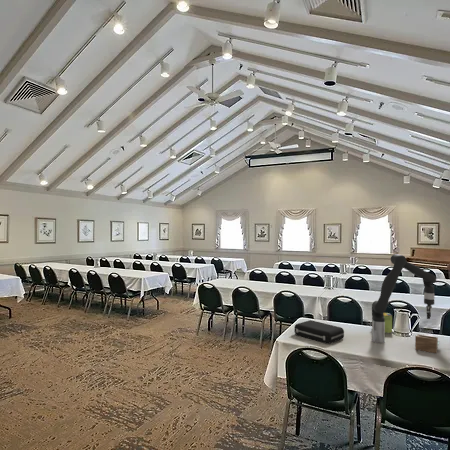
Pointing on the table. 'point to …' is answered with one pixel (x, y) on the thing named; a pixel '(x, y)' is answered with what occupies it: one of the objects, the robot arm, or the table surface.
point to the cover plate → (431, 336)
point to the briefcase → (319, 331)
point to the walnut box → (426, 343)
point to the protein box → (387, 322)
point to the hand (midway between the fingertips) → (428, 317)
